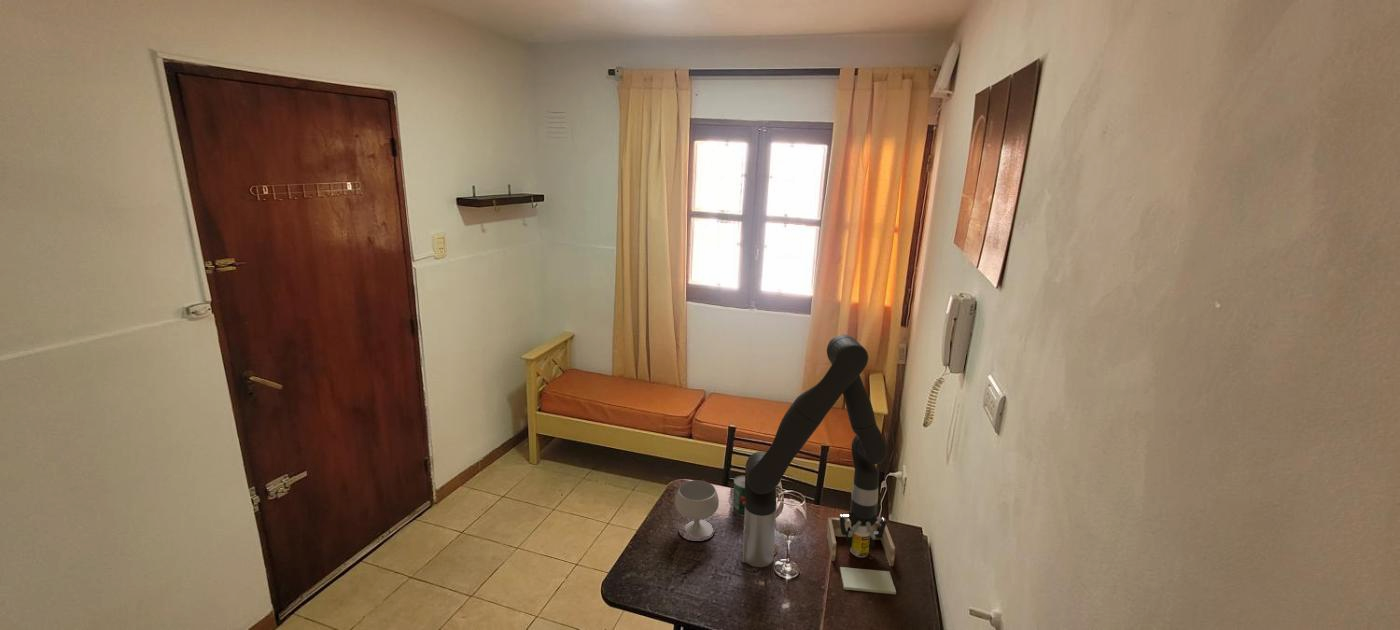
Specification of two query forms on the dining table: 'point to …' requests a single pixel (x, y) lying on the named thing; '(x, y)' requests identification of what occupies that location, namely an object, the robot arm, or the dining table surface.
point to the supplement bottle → (860, 542)
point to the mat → (867, 580)
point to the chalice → (697, 506)
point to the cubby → (835, 530)
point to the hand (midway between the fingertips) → (859, 546)
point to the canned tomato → (739, 495)
